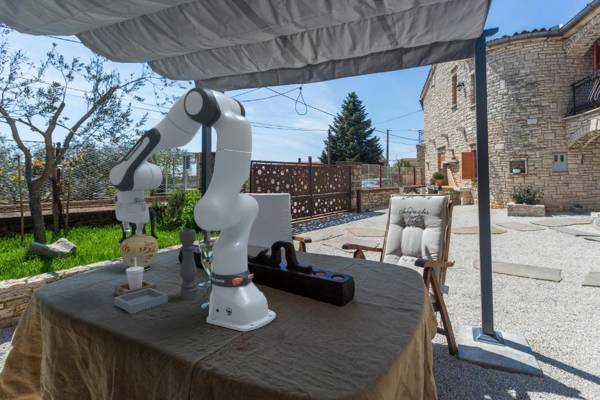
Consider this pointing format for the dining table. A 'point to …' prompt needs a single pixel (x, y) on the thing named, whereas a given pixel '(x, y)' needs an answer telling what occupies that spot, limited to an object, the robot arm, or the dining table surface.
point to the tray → (141, 300)
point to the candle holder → (188, 265)
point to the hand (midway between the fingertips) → (133, 233)
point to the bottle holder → (125, 289)
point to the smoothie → (135, 276)
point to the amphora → (139, 245)
